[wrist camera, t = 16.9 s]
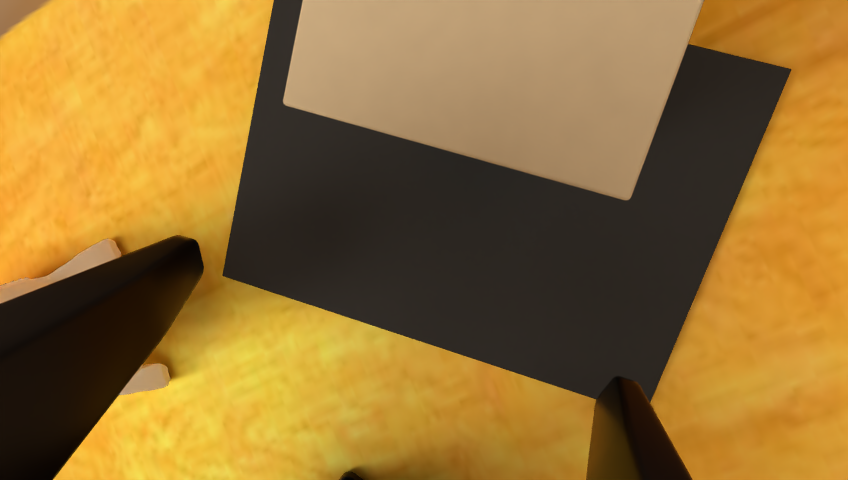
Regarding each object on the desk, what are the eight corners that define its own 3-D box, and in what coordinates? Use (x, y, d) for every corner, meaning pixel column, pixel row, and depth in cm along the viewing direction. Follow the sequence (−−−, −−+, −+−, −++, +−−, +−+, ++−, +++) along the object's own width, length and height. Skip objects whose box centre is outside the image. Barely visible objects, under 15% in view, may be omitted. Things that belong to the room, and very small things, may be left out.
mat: (642, 412, 22) (644, 415, 21) (225, 274, 24) (222, 276, 24) (787, 70, 18) (792, 69, 18) (286, -52, 21) (283, -55, 20)
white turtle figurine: (106, 385, 30) (240, 379, 22) (-74, 472, 23) (25, 512, 15) (54, 263, 29) (175, 210, 21) (-149, 316, 22) (-88, 267, 14)
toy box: (548, 176, 20) (630, 201, 8) (411, 137, 21) (280, 103, 8) (594, 34, 19) (785, -216, 6) (448, -2, 20) (358, -292, 7)
